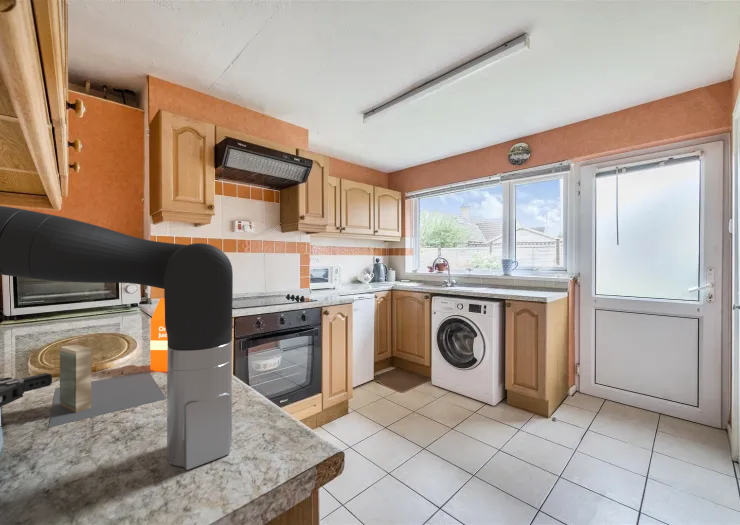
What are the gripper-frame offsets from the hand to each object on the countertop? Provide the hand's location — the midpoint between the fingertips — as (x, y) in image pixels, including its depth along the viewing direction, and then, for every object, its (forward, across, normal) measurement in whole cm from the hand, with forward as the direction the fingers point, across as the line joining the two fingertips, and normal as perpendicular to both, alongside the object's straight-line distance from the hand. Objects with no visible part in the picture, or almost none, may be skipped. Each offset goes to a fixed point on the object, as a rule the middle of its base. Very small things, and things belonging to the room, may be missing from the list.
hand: (50, 378), depth 62 cm
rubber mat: (+10, +2, +8) cm, 13 cm away
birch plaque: (+4, 0, +7) cm, 8 cm away
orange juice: (+30, +10, +8) cm, 32 cm away
